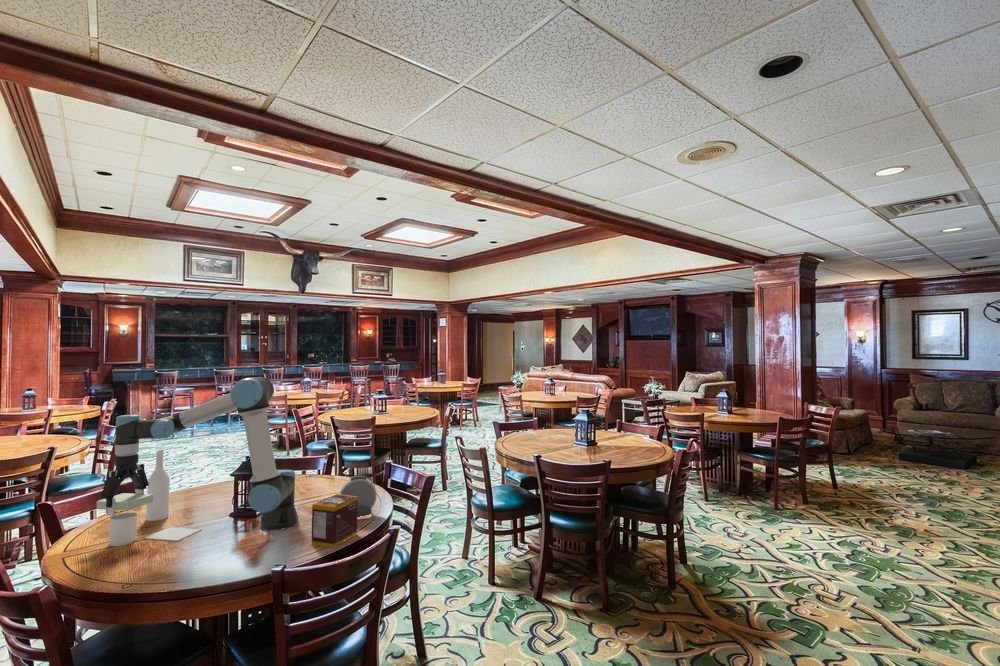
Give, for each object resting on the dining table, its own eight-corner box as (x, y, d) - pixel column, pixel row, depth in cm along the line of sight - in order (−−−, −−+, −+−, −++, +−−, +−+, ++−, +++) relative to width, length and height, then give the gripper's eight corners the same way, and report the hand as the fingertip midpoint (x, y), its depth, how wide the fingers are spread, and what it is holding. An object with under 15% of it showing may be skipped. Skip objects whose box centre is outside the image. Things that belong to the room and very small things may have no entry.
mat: (201, 530, 199) (201, 529, 199) (177, 541, 187) (177, 540, 187) (169, 528, 201) (169, 527, 202) (144, 538, 190) (144, 537, 190)
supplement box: (357, 534, 196) (358, 495, 197) (333, 548, 182) (333, 507, 182) (336, 531, 199) (337, 493, 200) (310, 544, 185) (311, 504, 186)
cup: (107, 548, 180) (108, 521, 181) (111, 538, 190) (112, 512, 191) (134, 543, 185) (136, 517, 185) (137, 533, 195) (138, 508, 195)
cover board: (153, 501, 193) (153, 494, 193) (128, 510, 182) (128, 502, 182) (123, 500, 195) (123, 493, 195) (96, 509, 184) (96, 501, 184)
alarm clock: (375, 511, 225) (375, 472, 226) (376, 518, 215) (377, 477, 216) (339, 514, 220) (339, 474, 221) (338, 522, 210) (339, 480, 211)
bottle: (147, 522, 208) (149, 453, 209) (145, 517, 214) (148, 450, 215) (169, 518, 213) (172, 450, 215) (167, 513, 219) (169, 447, 221)
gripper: (144, 448, 201) (143, 501, 200) (89, 460, 178) (87, 520, 177) (160, 448, 200) (159, 501, 199) (106, 461, 177) (104, 521, 176)
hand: (125, 510), depth 188 cm, fingers closed on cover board, 11 cm apart
